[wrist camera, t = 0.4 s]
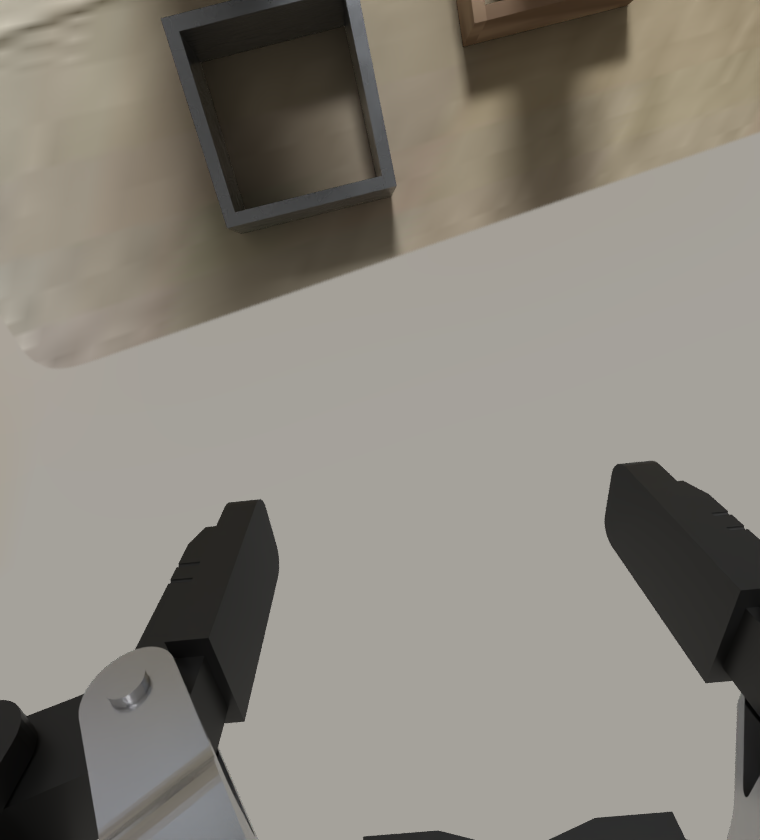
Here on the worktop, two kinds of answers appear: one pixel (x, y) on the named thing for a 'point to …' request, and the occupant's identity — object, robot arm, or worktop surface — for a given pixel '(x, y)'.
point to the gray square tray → (256, 27)
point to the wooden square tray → (522, 15)
